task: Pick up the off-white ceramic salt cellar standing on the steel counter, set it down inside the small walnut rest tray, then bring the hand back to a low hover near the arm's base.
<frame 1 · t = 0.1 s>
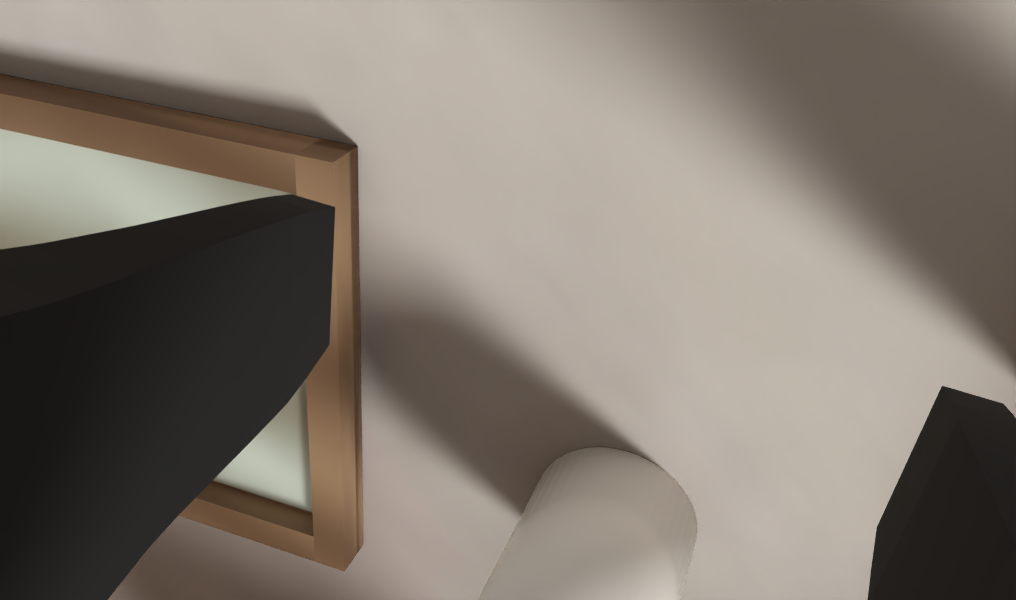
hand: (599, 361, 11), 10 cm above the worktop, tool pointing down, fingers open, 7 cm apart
rest tray: (161, 316, 28), on the worktop
salt cellar: (614, 515, 25), on the worktop
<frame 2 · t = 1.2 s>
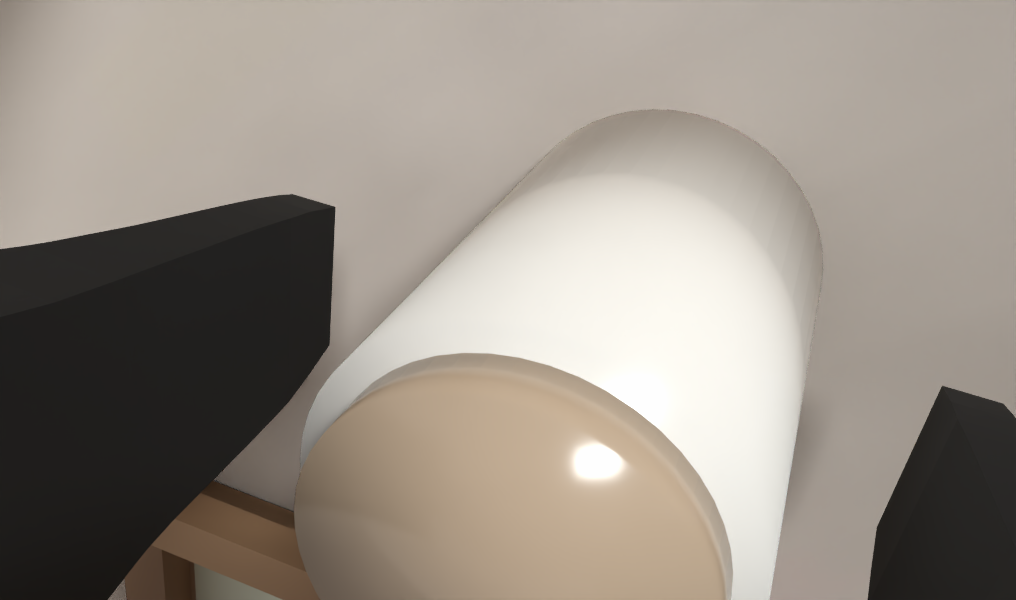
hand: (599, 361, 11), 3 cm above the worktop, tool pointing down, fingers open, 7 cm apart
salt cellar: (660, 261, 13), on the worktop
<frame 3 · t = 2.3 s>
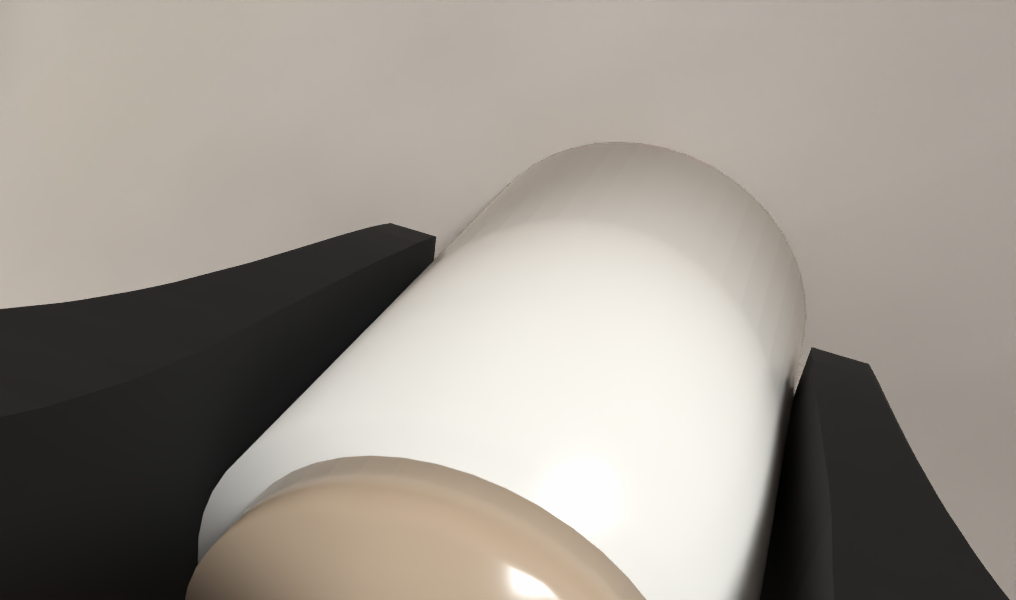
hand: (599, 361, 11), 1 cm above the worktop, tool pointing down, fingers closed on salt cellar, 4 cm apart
salt cellar: (628, 306, 12), on the worktop, touching gripper
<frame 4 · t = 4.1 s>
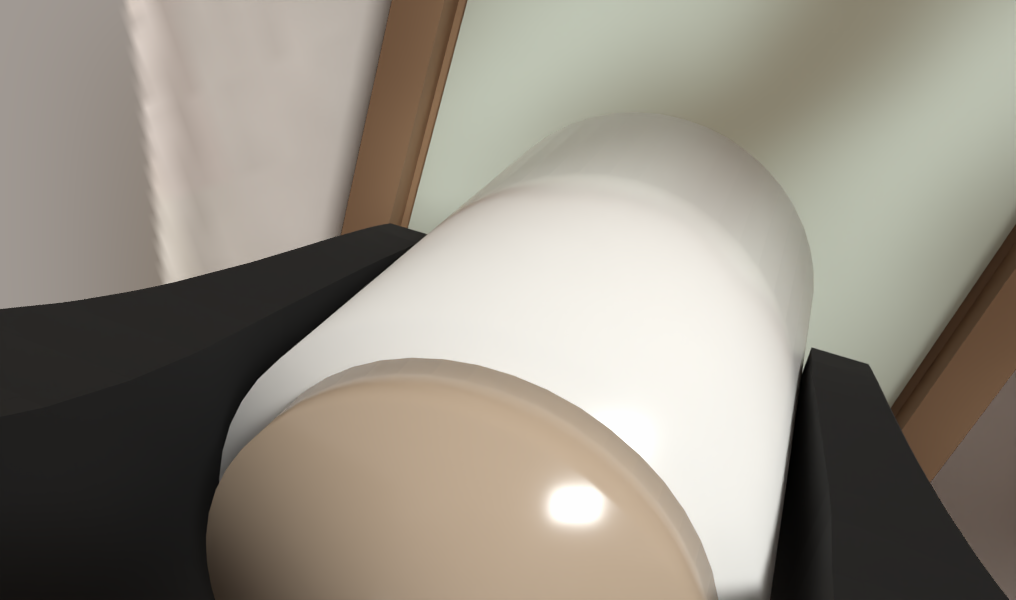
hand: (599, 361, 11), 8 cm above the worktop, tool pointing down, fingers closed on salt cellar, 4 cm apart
rest tray: (714, 141, 18), on the worktop
salt cellar: (637, 279, 12), point 7 cm above the worktop, touching gripper
when the fingers open (3 cm above the worktop, at t = 5.9 s): salt cellar stays where it is, resting on rest tray.
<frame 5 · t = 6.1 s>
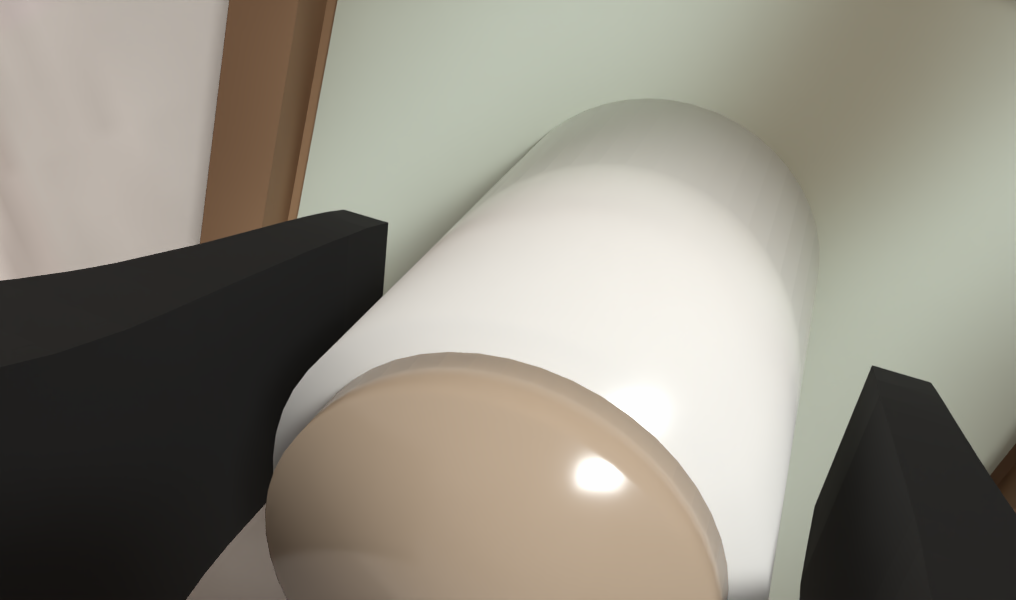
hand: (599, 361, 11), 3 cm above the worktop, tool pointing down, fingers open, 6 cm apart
rest tray: (654, 256, 13), on the worktop
salt cellar: (651, 256, 13), point 1 cm above the worktop, touching rest tray
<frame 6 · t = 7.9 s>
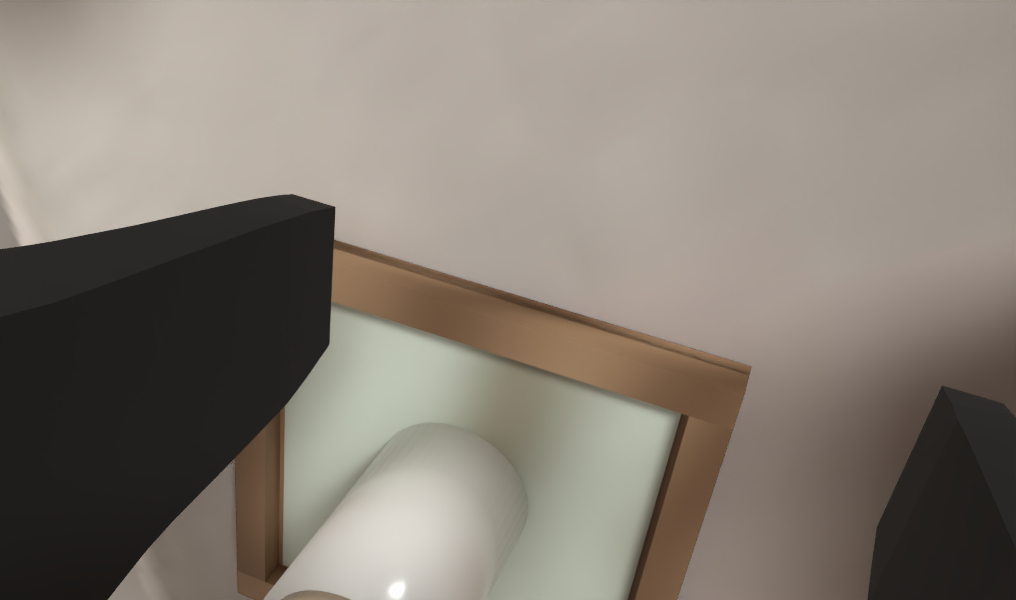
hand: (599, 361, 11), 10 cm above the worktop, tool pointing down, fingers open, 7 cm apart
rest tray: (459, 485, 26), on the worktop
salt cellar: (452, 490, 26), point 1 cm above the worktop, touching rest tray
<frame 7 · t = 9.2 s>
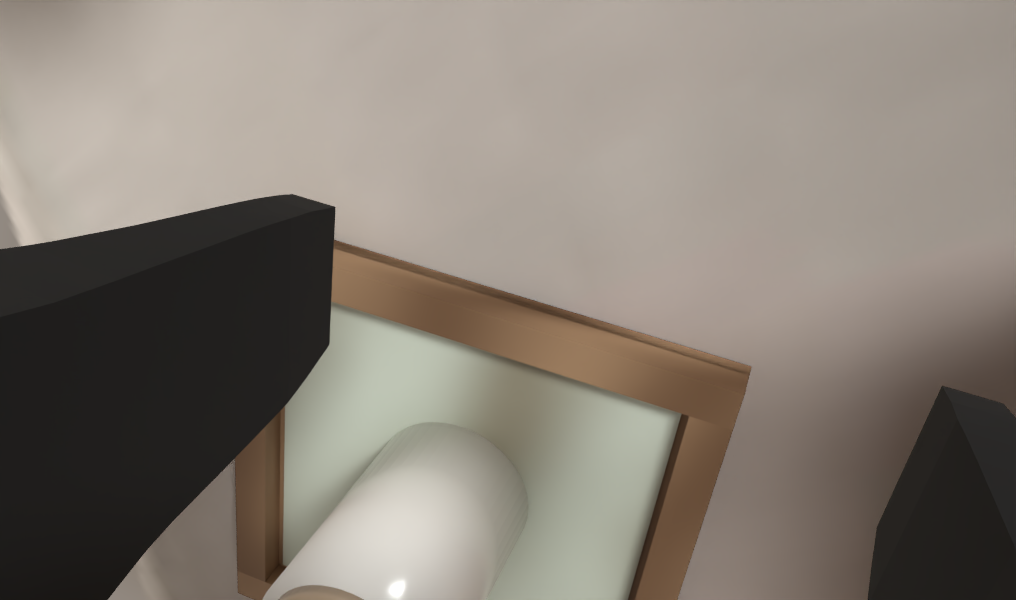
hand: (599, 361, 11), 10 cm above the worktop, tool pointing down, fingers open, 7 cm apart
rest tray: (460, 485, 26), on the worktop
salt cellar: (452, 490, 26), point 1 cm above the worktop, touching rest tray
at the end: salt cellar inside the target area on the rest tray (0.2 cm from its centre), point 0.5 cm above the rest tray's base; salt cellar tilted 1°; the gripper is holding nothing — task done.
